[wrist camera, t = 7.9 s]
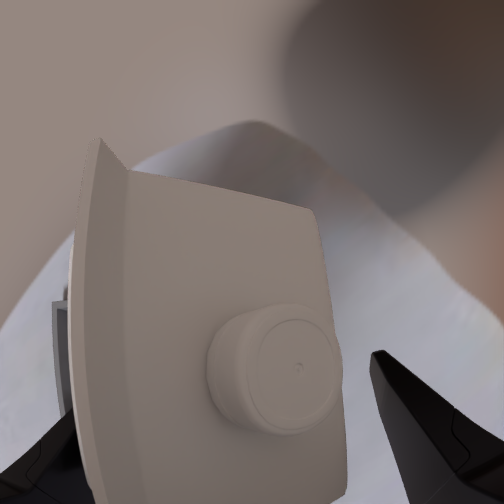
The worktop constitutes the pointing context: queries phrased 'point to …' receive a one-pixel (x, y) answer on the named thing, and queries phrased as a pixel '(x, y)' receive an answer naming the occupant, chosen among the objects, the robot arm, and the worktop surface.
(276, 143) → the worktop surface
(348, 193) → the worktop surface
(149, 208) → the milk carton
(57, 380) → the drip tray
